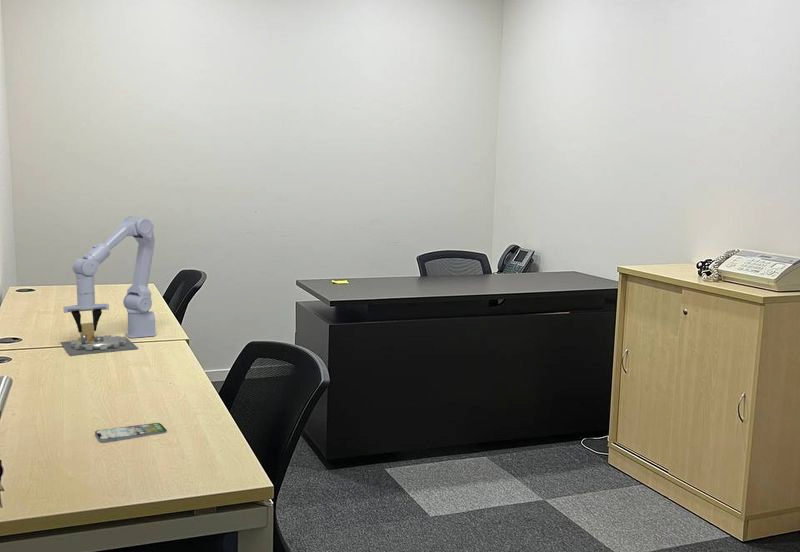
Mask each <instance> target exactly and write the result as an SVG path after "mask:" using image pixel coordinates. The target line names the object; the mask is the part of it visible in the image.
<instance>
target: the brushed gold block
mask: <svg viewBox="0 0 800 552" xmlns="http://www.w3.org/2000/svg"><path fill="white" fill-rule="evenodd" d="M79 333H80V334H79V338H81V335H87V339H94V336H95V331H94V324H93V322H87V323H85V322H83V323H81V332H79Z"/></svg>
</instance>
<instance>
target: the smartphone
mask: <svg viewBox="0 0 800 552" xmlns="http://www.w3.org/2000/svg"><path fill="white" fill-rule="evenodd" d="M167 432H168V431H167V429H166V427H164V425H163V424H162V423H160V422H153V423H146V424H145V423H144V424H137V425H129V426H122V427H121V426H120V427H114V428H113V427H112V428H105V429H99V430H98V429H97V430H96V431H94V434H95V435H94V436H95V437H96V439H97V440H98V442H99V443H101V444H102V443H103V444H104V443H111V442H112V443H113V442H118V441H119V442H120V441H124V440H131V439H136V438H137V439H138V438H142V437H149V436H154V435H161V434H166V433H167Z"/></svg>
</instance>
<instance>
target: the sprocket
mask: <svg viewBox="0 0 800 552" xmlns="http://www.w3.org/2000/svg"><path fill="white" fill-rule="evenodd" d="M122 337H123V336H119V335H116V336H115V335H114V336H112V335H111V334H110V335H109V334H108V335H107V334H105V335H103V336H101V335H100V336H99V335H94V339H87V335H81V338H80V337H78V339H73V340H70V342H71V347H75V349H79V350H80V349H86V350H94V349H100V350H104V349H107V348H117V347H120V346H119V345H125V344H126V338H127V337H126V338H122Z"/></svg>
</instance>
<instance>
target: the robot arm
mask: <svg viewBox="0 0 800 552" xmlns="http://www.w3.org/2000/svg"><path fill="white" fill-rule="evenodd" d="M127 237H133V238H134V239H135V241H136V242H137V243H138V247H137V252H136V253H137V254H136V259H135V265H134V272H133V276H132V277H133V278H132V284H131V286H130V287H129V288H128V289H127V290H126V294H125V296H124V298H123V306H124V308H125V309H126V312H127V332H126V333H125V335H126V336H127V338H128V339H135V338H145V337H156V335H157V334H156V316H155V312H154V311H153V310H152V311H151V309H152V306H153V301H152V292H151V290H150V289H149V287H148V286H149V280H150V274H151V268H152V261H153V256H154V249H155V243H156V238H155V235H154V223H152V221H151V220H150V219H149V218H147V217H137V216H128V217H125V219H124V220H122V221H121V222H120V223H119V226H118V227H117V228H116V229H114V231H113V232H112V233H111V234H110V235H109V236H108V237H107V238H106V240H105V241H103V242H102V243H97V244H93V245H92V248H91V249H90V250H89V251H88V252H87V253H85V254H83V255H82V257H81V258H78V259H76V260H75V261H74V262H73V263H74V264H73V266H71V268H72V271H73V272H74V274H75V278H76V299H77V300H76V301H77V304H76V305H75V304H74V305H65V306H63V313H65V314H66V313H67V314H68V313H70V314H71V315H72V317H73V319H74V322H75V324H76V326H77V327H76V328H77V332H78V333H80V332H81V324H82V320H81V318H82V315H81V312H87V311H89V312H90V311H91V313H92V323H93V324H94V332H96V331H97V327H98V324H99V320H100V318H101V317H102V313H103V311H108V310H110V308H109V307H110V306H109V305H110V304H109V303H96V296H95V295H96V294H95V293H96V291H95V274H97V272H98V268H99V266H100V265H102V263H104V262H105V261H106V259H107V258H109V257H110V256H111V250H112V249H114V248H115V247H116V246H117V245H118V244H120V242H122V241H123V240H124V239H125V238H127Z"/></svg>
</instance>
